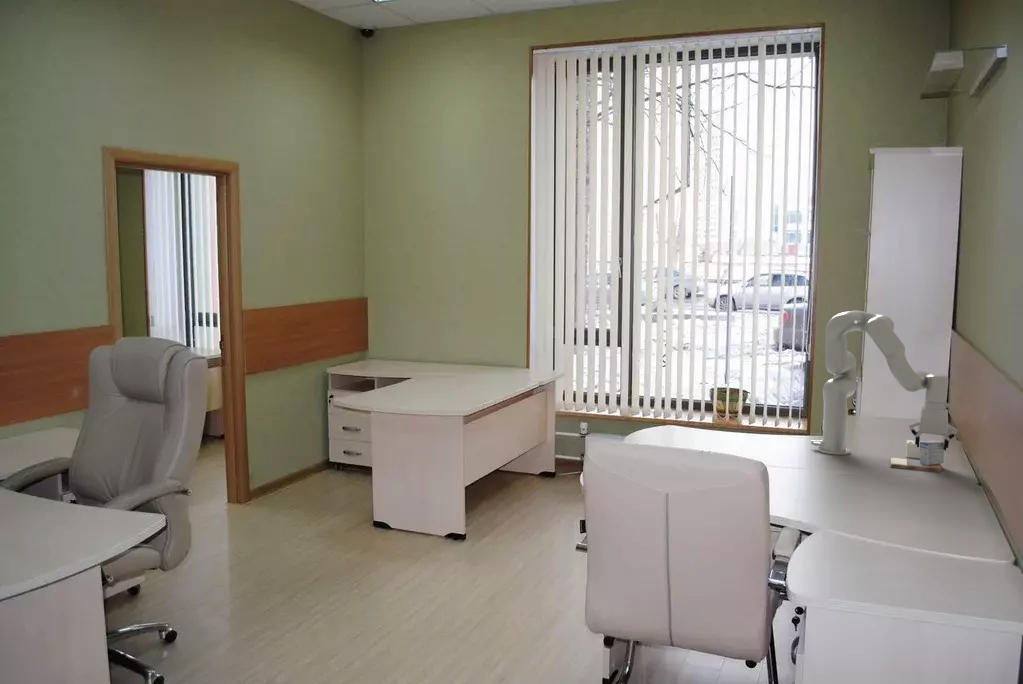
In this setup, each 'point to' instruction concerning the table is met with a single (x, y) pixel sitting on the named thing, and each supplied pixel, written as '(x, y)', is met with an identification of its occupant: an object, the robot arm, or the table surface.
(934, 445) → the medicine box
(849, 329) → the robot arm
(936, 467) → the striped colour swatch board
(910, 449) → the die
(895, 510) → the table surface
